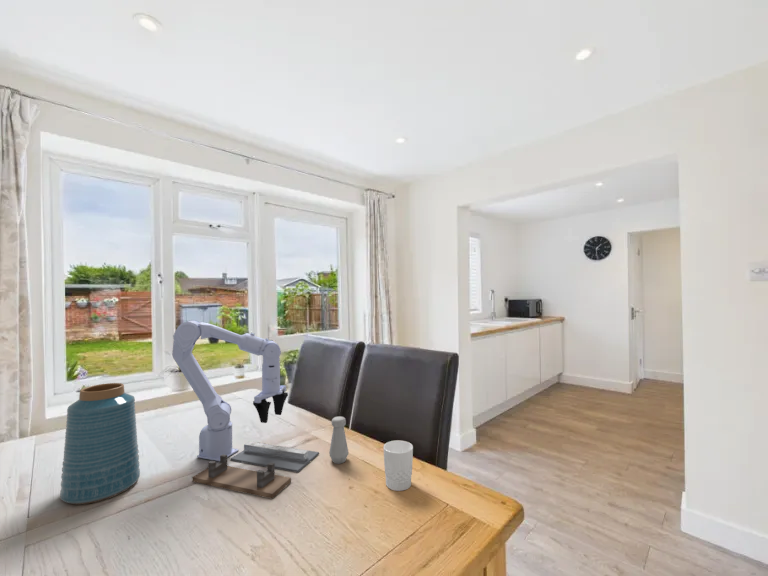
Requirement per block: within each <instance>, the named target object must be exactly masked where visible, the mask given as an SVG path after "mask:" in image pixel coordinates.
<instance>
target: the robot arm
mask: <svg viewBox="0 0 768 576" xmlns="http://www.w3.org/2000/svg"><path fill="white" fill-rule="evenodd" d="M255 334H256V333H253V332H250V333H249V332H245V333H244V334H239V333H236V332H233V331H231V330H228V329H226V328H224V327H220V326H218V325H215V324H212V323H207V322H204V321H198V320H196V319H191V320H186V321H185V322H184V321H183V322H182V323H181V324H179V325H177V328H176V329H175V332H174V333H173V335H172V337H173V338H172V339H173V340H172V341H173V342H172V352H171V353H172V354H171V355H172V358H173V360H174V362H175V363H176V365H177V366H178V368H179V369H180V371H181V373H182V374H183V376H184V377H185V379H186V381H187V382H188V384H189V385H190V387H191V388H192V390H193V392H194V393H195V395H196V396H197V398H198V399H199V401H200V403H201V405H202V408H203V412H204V414H205V416H206V417H207V424H206V425H205V426H203V427H202V428H201V429H200V433H199V436H198V454H197V456H196V458H199V459H204V460H210V461H214V462H220V456H221V455H222V454H224V455H227V458H229V457H231V456H233V455H234V454H236V453H238V451H239V448H234V447H233V422H232V421H231V414H232V406H231V405H230V403H228V402H227V401H225V400H224V399H223V397H222V396H221V395H220V394H218V393H217V392H216V389H215V388H214V386H213V384H212V383H211V381H210V380H209V378H208V376H207V375H206V373H205V371H204V370H203V369H202V367H201V365H200V363H199V362H198V360H197V359H196V357H195V355H194V354H193V350H194V348H195V345H196V342H197V341H198V340H199V339H201V340H203V339H210V338H214V339H218V340H221V341H223V342H227V343H231V344H235V345H237V347H238V349H239V350H240V351H243V352H246V353H248V354H252V355H256V356H262V364H261V391H260V392H259V393H258V394H256V395H255V396H254V397H253V401H252V402H253V403H252V404H253V406H254V407H255V409H256V411H257V414H258V418H259V420H260V423H263V424H266V423H268V419H269V411H270V408H271V407H270V406H271V404H272V402H271V401H267V400H268V399H270V398H272V401H273V406H274V407H273V408H274V409H273V410H274V411H273V412H274V415H275V416H276V415H278V416H281V415H282V413H283V410H284V409H283V408H284V405H285V402H286V400H287V398H288V396H289V393H288V392H286V391H287V385H283V384H281V364H280V362H281V361H280V360H281V359H280V356H281V354H282V350H281V348H280V346H279V344H278V343H277V342H276V341H274V340H269V338H267V337H265V338H263V337H259V336H257V335H255Z"/></svg>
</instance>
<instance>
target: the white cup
mask: <svg viewBox="0 0 768 576" xmlns="http://www.w3.org/2000/svg"><path fill="white" fill-rule="evenodd" d="M413 454H414V445H413V444H412V443H410V442H409V441H406V440H402V439H401V440H398V439H397V440H391V441H390V440H389V441H387V442H386V443H384V444H383V463H384V464H383V465H384V474H385V485H386V487H387V488H388V489H390V490H391V491H395V492H396V491H397V492H400V491H401V492H402V491H405V490H408V489H409V488H410V487H412V475H413V457H414V456H413Z"/></svg>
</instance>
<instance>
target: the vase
mask: <svg viewBox="0 0 768 576" xmlns="http://www.w3.org/2000/svg"><path fill="white" fill-rule="evenodd" d="M135 403H136V402H135V396H134V395H132V394H129V393H126V392H125V384H124V383H122V382H109V383H102V384H101V383H100V384H94V385H89V386H87V387H86V386H85V387H84V388H81V389H80V390H79V396H78V400H76V401H74V402H73V403H71V404H70V405H69V406H68V407H67V410H66V413H67V414H66V423H65V424H66V425H65V438H64V447H63V459H62V460H63V461H62V467H61V472H62V473H61V477H60V478H61V482H60V490H59V491H60V492H59V494H60V495H59V497H60V500H61V501H62V502H64V503H67V504H72V505H87V504H92V503H98V502H101V501H105V500H107V499H110V498H113V497H115V496H117V495H119V494H122V493H123V492H125V491H126V490H128V489H129V488H131V487H132V486H133V485H134V484H135V483H136V482H137V481H138V480H139V478H140V476H141V475H140V474H141V472H140V471H141V470H140V461H139V460H140V456H139V455H140V454H139V453H140V451H139V444H138V433H137V431H138V429H137V416H136V404H135Z"/></svg>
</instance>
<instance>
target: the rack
mask: <svg viewBox="0 0 768 576" xmlns="http://www.w3.org/2000/svg"><path fill="white" fill-rule="evenodd" d="M207 466H208V467H207V468H205V469H203V470H202V471H200V472H198V473H197V474H196V475H193V476H192V477H191V481H192V482H193V483H197V484H202V485H207V486H212V487H216V488H222V489H226V490H229V491H235V492H239V493H243V492H244V494H249V495H254V496H257V495H258V497H262V496H263V497H262V498H266V499H274V498H275V497H277V495H279V493H281V492H282V491H283V490H284V489H285V488H286V487H288V485H289V484H290V483H292V477H291V476H290V477H288V476H284V475H278V474H276V473H275V470H276V468H275V463H268V464H267V467H266V468H267V469H266V471H265V470H263V469H259V470H252V469H246V468H241V467H236V466H230V465H228V457H227V455H224V454H222V455H221V456H220V461H214V460H210V461H209V462H208V465H207Z"/></svg>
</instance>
